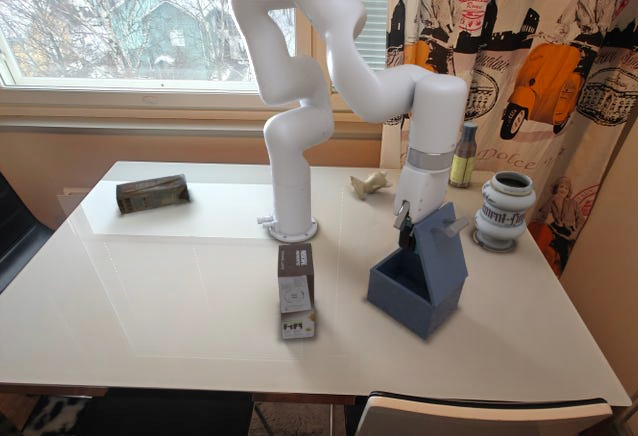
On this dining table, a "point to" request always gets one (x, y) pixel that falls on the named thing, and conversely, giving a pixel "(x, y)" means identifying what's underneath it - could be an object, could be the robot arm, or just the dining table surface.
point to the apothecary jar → (503, 210)
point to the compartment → (408, 293)
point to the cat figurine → (370, 183)
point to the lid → (441, 251)
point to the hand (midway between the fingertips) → (414, 242)
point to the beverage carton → (152, 194)
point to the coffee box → (296, 290)
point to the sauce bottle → (464, 156)
